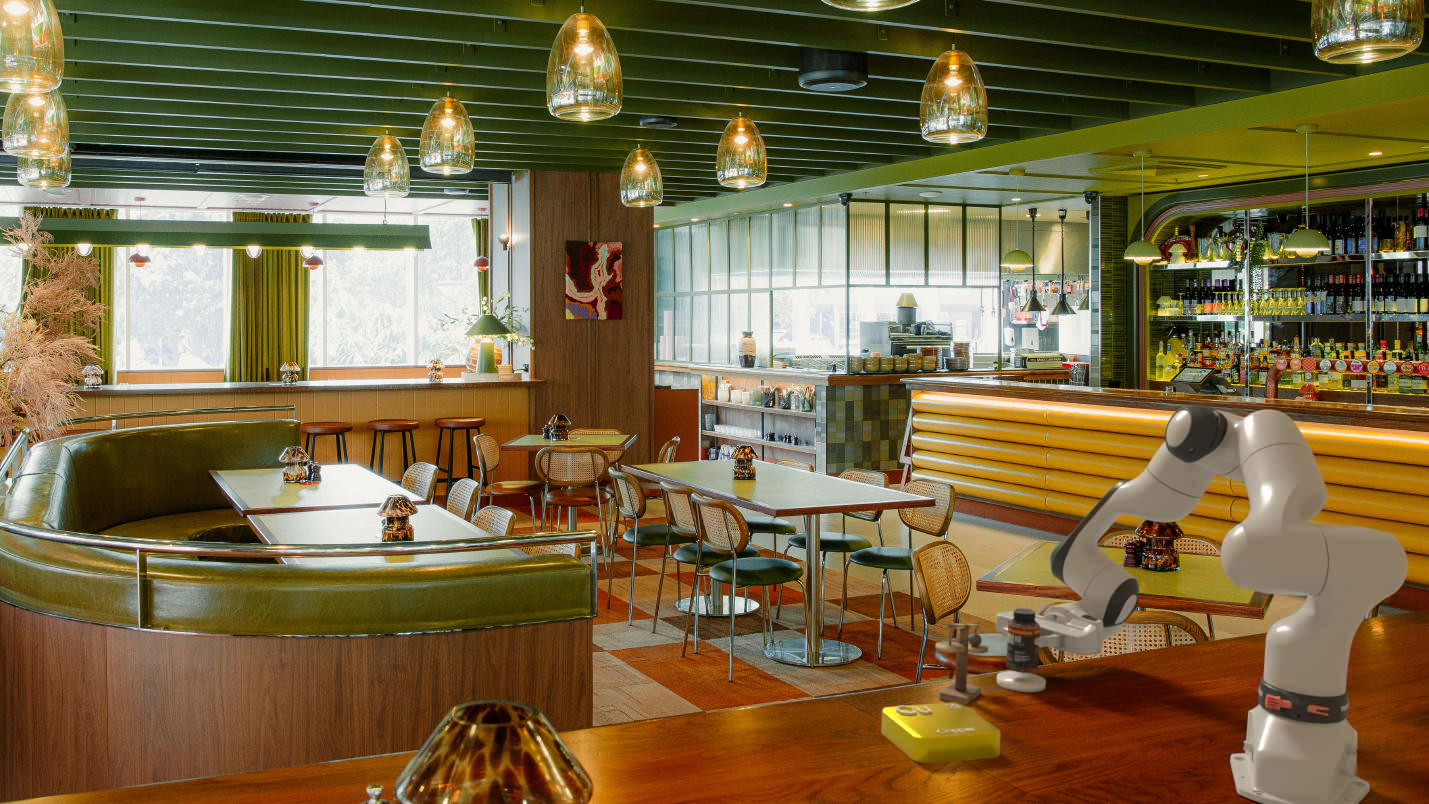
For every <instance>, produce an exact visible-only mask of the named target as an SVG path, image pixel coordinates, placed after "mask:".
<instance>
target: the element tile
mask: <svg viewBox="0 0 1429 804" xmlns="http://www.w3.org/2000/svg"><path fill="white" fill-rule="evenodd" d="M881 711H882V712H881V735H883V736H884V737H885V738H886V739H887V740H888V741H890V742H891V743H892V744H893V745H895V747H897V748H898V749H899V750H900V751H901V752H903V753H904V754H905V755H906V756H907V757H909V758H910V759H911V760H913V761H914V762H916V763H920V764H937V763H938V764H939V763H949V762H962V761H971V760H973V761H974V760H985V759H995V758H997V757H999V756H1000V753H1001V737H1002V736H1001V730H1000V729H999V728H998V727H996V726H994V725H993V724H992V723H990V722H988V721H987V720H986V719H984V718H983V717H981V716H980V715H978V713H975V712H974V711H973V710H971V709H969V708H968V707H967V706H966V705H963V704H960V703H956V702H939V703H926V704H925V703H923V704H911V705H909V704H908V705H901V704H900V705H895V706H893V705H892V706H885V707H883V709H882V710H881Z"/></svg>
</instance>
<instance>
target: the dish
mask: <svg viewBox="0 0 1429 804" xmlns="http://www.w3.org/2000/svg"><path fill="white" fill-rule="evenodd" d="M996 684H997V685H998V686H1000V688H1004V689H1005V690H1009V691H1012V692H1013V691H1014V692H1018V693H1019V692H1020V693H1038V692H1039V693H1040V692H1043V691H1044V690H1046V687H1047V686H1046V685H1047V681H1046V679H1045V678H1044V677H1043V676H1040V675H1037V674H1035V673H1033V672H1032V673H1021V672H1016V671H1012V670H1009V671H1001V672H999V673H997V675H996Z"/></svg>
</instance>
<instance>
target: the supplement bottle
mask: <svg viewBox="0 0 1429 804" xmlns="http://www.w3.org/2000/svg"><path fill="white" fill-rule="evenodd" d="M1013 611H1014V615H1013V616H1014V618H1013V619H1012V620H1011V621H1010V622H1009V623H1008V636H1007V637H1006V638H1007V641H1006V643H1007V644H1006V660H1005V661H1006V663H1005V664H1006V668H1007V669H1008V670H1009V671H1016V672H1021V673H1032V674H1033V673H1035V672H1037V671H1038V670H1039V665H1040V663H1039V661H1040V647H1038V646H1035V645H1034V637H1035V636H1039V635H1040V626H1039V624H1038V623H1037V622H1036V621H1035V614H1036V611H1035V610H1034V609H1033V610H1032V609H1029V608H1025V607H1023V608H1014V609H1013Z"/></svg>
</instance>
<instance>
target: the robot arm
mask: <svg viewBox="0 0 1429 804" xmlns="http://www.w3.org/2000/svg"><path fill="white" fill-rule="evenodd" d="M1164 440H1165V441H1164V442H1163V443H1162V444H1161V446H1160V447H1159V448H1158V449H1157V451H1156V452H1155V454H1154V455H1153V456H1152V458H1151V459H1150V461H1149V463H1148V464H1147V466H1146V467H1145V468H1144V470H1143V471H1142V472H1141V473H1140V474H1139V475H1138V476H1136V477H1135V478H1133V479H1132V478H1124V479H1122V480H1120V481H1119V482H1117V483H1116V484H1114V485H1113V486H1112V487H1111V488H1110V489H1108V491H1106V493H1105V494H1104V495H1103V496H1102V498H1101V499H1099V501H1098V502H1097V503H1096V504H1095V505H1094V506H1093V508H1092V509H1090V511H1089V512H1088V513H1087V515H1086V516H1085V517H1083V519H1082V520H1081V522H1079V523H1078V525H1077V526H1076V527H1075V529H1073V531H1072V532H1070V533H1069V534H1068V535H1067V536H1066V537H1065V538H1064V539H1063V540H1062V541H1061V542H1059V543H1058V544H1057V545H1056V546H1055V548H1054V549H1053V551H1051V554H1050V558H1049V559H1050V561H1049V562H1050V569H1051V574H1052V575H1053V576H1052V577H1055V578H1056V579H1057V580H1058V581H1060V582H1061V583H1063V584H1064V585H1065V586H1067V587H1069V588H1070V589H1072V590H1073V591H1074V593H1076V594H1077V595H1078V596H1079V597H1081V599H1080V600H1077V601H1075V602H1066V603H1061V604H1057V605H1056V604H1055V605H1053V606H1050V607H1048V608H1047V609H1046V610H1045V611H1044V612H1043V614H1042V615H1040V614H1037V613H1035V621H1036V622H1037V623H1038V624H1039V626H1040V635H1039V636H1035V637H1034V645H1035V646H1038V647H1039V648H1045V647H1048V648H1052V649H1053V650H1054V649H1055V650H1056V651H1059V652H1060V651H1061V652H1066V653H1071V654H1075V655H1079V656H1089V655H1099V654H1101V653H1102V652H1103V651H1102V650H1103V646H1104V641H1106V640H1108V639H1110V638H1112V637H1113V636H1115V635H1116V634H1118V633H1119V632H1120V631H1121V630H1122V629H1123V628H1124V625H1125V624H1126V621H1127V620H1128V619H1129V618H1130V617H1131V615H1132V614H1134V611H1135V610H1136V608H1137V606H1138V604H1139V600H1140V585H1139V582H1138V580H1137V579H1136V578H1135V577H1134V576H1133V575H1132V574H1131V573H1130V572H1128V571H1127V570H1125V568H1123V567H1122V566H1121V565H1120V564H1118V563H1117V562H1115V561H1114V560H1113V559H1111V558H1110V557H1109V556H1108V555H1106V553H1104V552H1102V551H1101V549H1100V548H1099V546H1098V542H1099V540H1100V539H1101V538H1102V536H1103V535H1104V534H1105V533H1106V532H1107V531H1108V530H1109V529H1110V527H1111V526H1112V525H1114V523H1115V522H1116V520H1118V518H1120V517H1121V516H1122V515H1130V516H1134V517H1137V518H1140V519H1144V520H1146V521H1150V522H1151V521H1152V522H1157V523H1158V522H1159V523H1173V522H1178V521H1181V520H1183V519H1186V517H1188V516H1189V515H1190V514H1191V513H1192V511H1194V509H1195V508H1196V507H1197V505H1198V504H1199V502H1200V501H1201V499H1202V497H1204V494H1205V492H1206V491H1207V489H1208V488H1209V486H1210V484H1211V482H1212V481H1213V479H1215V477H1216V476H1218V477H1222V478H1225V479H1228V480H1229V479H1230V480H1233V481H1238V482H1241V483H1242V484H1243V483H1244V485H1245V489H1246V492H1247V496H1248V500H1249V501H1248V502H1249V506H1250V509H1249V511H1248V512H1249V513H1248V515H1247V517H1246V518H1244V520H1243V521H1242V522H1240V523H1238V524H1236V525H1235V526H1233V527H1232V528H1230V530H1229V531H1228V532H1227V534H1225V536H1224V538H1223V541H1222V543H1221V547H1220V553H1219V554H1220V557H1219V558H1220V563H1221V567H1222V569H1223V571H1224V573H1225V575H1226V576H1227V578H1228V579H1229V581H1230V582H1231V583H1232V584H1233V585H1235V586H1236V587H1238V588H1243V589H1246V590H1250V591H1254V592H1259V593H1262V594H1267V595H1285V596H1286V595H1287V596H1299V597H1300V596H1301V597H1305V596H1306V599H1305V601H1304V603H1302V606H1301V607H1300V608H1299V609H1298V610H1297V611H1295V612H1294V613H1293V614H1291V615H1288V616H1286V617H1283V618H1281V619H1279V620H1277V621H1276V622H1275V623H1274V624H1273V625H1271V627H1270V628H1269V629H1268V631H1267V634H1266V636H1265V649H1264V668H1263V669H1264V670H1263V676H1262V677H1261V678H1260V681H1259V686H1258V704H1257V705H1256V706H1255V707H1254V708H1251V710H1248V716H1247V728H1246V729H1247V730H1246V739H1245V740H1243V742H1242V746H1241V747H1242V748H1243V751H1244V752H1245V753H1243V752H1241V753H1240V752H1239V753H1232V754H1231V755H1230V760H1229V762H1230V766H1231V771H1232V776H1233V781H1234V783H1235V789H1236V792H1237V794H1238V795H1239V796H1242V797H1244V798H1247V799H1249V800H1252V801H1255V802H1258V803H1261V804H1359V803H1360V802H1361V801H1362V800H1363V799H1364V798H1365V797H1366V796H1367V795H1368V793H1370V789H1371V788H1370V787H1371V786H1370V782H1368V781H1366V780H1365V779H1362V778H1360V777H1358V776H1356V775H1357V773H1358V763H1357V756H1358V753H1359V746H1358V731H1357V730H1356V729H1355V728H1354V727H1353V726H1352V725H1351V724H1350V722H1349V721H1348V720H1347V717H1348V711H1349V707H1350V700H1349V692H1348V691H1347V688H1346V687H1347V676H1348V667H1349V666H1348V665H1349V660H1350V653H1351V647H1352V644H1353V639H1354V637H1355V635H1356V632H1357V630H1358V629H1359V626H1360V625H1361V624H1362V623H1363V620H1364V619H1365V618H1366V616H1367V615H1368V614H1369V613H1370V612H1371V611H1372V610H1373V609H1374V608H1375V607H1376V606H1377V605H1379V603H1381V602H1382V601H1384V600H1385V599H1387V598H1389V597H1391V596H1392V595H1394V594H1396V593H1397V591H1399V590H1400V588H1402V585H1403V584H1404V583H1405V581H1406V578H1407V575H1408V570H1409V569H1408V567H1409V562H1408V557H1407V553H1406V551H1405V549H1404V547H1403V545H1402V544H1401V542H1400V541H1399V540H1398V539H1397V537H1396V536H1394V535H1393V534H1391V533H1390V532H1387V531H1383V530H1382V531H1381V530H1377V529H1374V528H1371V527H1370V528H1369V527H1366V526H1359V525H1350V524H1348V525H1347V524H1330V523H1329V524H1326V523H1313V522H1310V521H1311V520H1312V519H1314V518H1315V517H1316V516H1317V515H1318V514H1319V513H1320V512H1322V510H1323V508H1324V507H1325V505H1326V503H1327V499H1328V488H1327V485H1326V484H1325V481H1324V478H1323V476H1322V472H1321V470H1320V468H1319V466H1318V463H1317V461H1316V457H1315V455H1314V454H1313V451H1312V448H1311V447H1310V445H1309V443H1308V441H1307V439H1306V437H1305V436H1304V434H1303V433H1302V431H1301V430H1300V428H1299V427H1298V425H1297V424H1296V422H1295V421H1294V420H1293V419H1292V418H1291V417H1290V416H1289V415H1288V414H1287V413H1284V412H1282V411H1281V410H1276V409H1261V410H1256V411H1254V412H1252V413H1249V414H1247V415H1246V416H1245V417H1242V416H1241V415H1237V414H1234V413H1231V412H1228V411H1223V410H1219V409H1215V408H1213V407H1212V406H1209V405H1204V404H1191V403H1190V404H1185V405H1183V406H1182V407H1180V408H1179V409H1178V410H1176V411H1175V412H1174V413H1173V414H1172V416H1171V417H1170V418H1169V420H1168V421H1167V424H1166V428H1165V431H1164ZM1013 615H1014V610H1010V611H1002V612H998V613H997V614H996V617H995V630H996V632H998V633H1001V636H1002V637H1004V638H1007V636H1008V623H1009V622H1010V621H1011V620H1012V619H1013V618H1014V616H1013Z"/></svg>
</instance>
